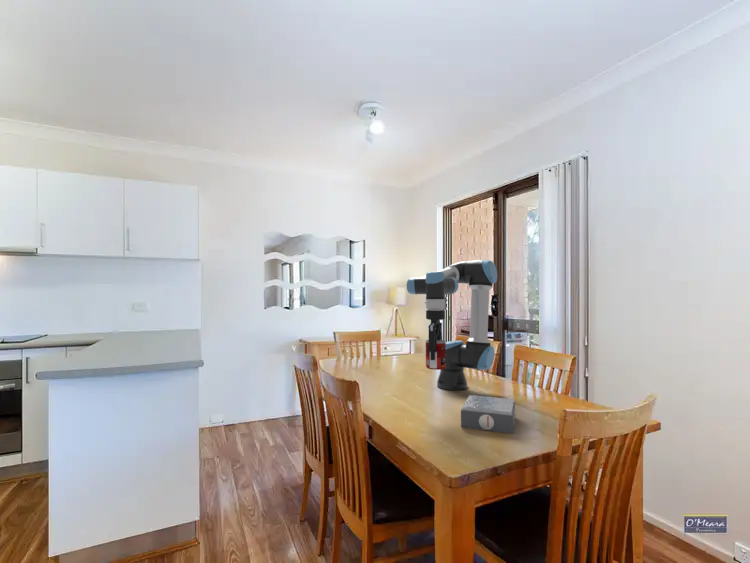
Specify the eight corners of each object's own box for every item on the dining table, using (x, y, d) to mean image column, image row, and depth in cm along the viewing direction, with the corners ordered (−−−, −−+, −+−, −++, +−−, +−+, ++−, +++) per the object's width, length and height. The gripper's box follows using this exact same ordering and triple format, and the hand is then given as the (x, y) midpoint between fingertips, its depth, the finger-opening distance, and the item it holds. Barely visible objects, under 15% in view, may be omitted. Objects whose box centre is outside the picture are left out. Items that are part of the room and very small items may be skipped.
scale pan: (469, 397, 159) (469, 394, 159) (513, 402, 153) (513, 399, 153) (462, 410, 143) (462, 406, 143) (511, 415, 137) (511, 412, 137)
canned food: (445, 370, 154) (445, 342, 154) (425, 369, 156) (424, 341, 156) (446, 366, 162) (445, 339, 162) (426, 365, 163) (426, 339, 163)
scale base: (468, 412, 159) (468, 397, 160) (515, 417, 153) (515, 402, 153) (460, 427, 142) (460, 411, 142) (513, 434, 135) (513, 417, 135)
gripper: (432, 308, 170) (432, 361, 170) (419, 311, 151) (420, 370, 151) (449, 308, 167) (449, 362, 167) (438, 311, 148) (439, 372, 148)
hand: (435, 366), depth 159 cm, fingers closed on canned food, 8 cm apart
